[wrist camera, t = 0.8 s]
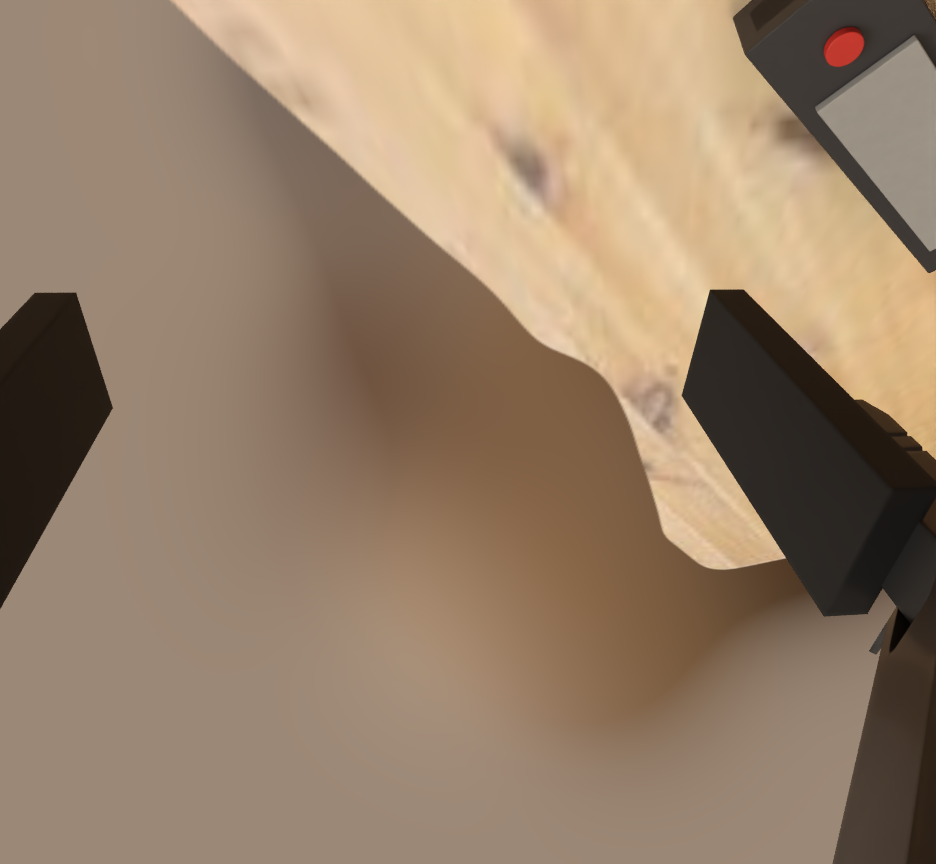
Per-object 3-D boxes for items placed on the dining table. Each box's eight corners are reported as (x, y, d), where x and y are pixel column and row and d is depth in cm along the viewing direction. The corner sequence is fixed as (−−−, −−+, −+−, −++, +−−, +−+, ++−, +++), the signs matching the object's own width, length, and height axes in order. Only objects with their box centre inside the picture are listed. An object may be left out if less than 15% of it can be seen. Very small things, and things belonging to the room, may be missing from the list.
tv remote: (1026, 174, 33) (1054, 218, 31) (911, 236, 37) (931, 279, 35) (862, -100, 24) (889, -59, 23) (731, 17, 28) (746, 60, 26)
